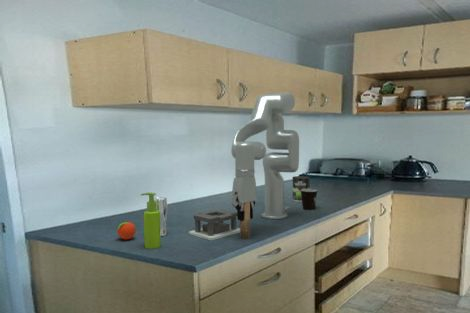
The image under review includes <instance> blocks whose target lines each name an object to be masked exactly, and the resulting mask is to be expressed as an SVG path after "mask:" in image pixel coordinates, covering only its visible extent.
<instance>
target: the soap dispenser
mask: <svg viewBox="0 0 470 313" xmlns="http://www.w3.org/2000/svg"><path fill="white" fill-rule="evenodd" d="M140 196H148V201H147V202H146V210H144V211H143V232H144V234H143V236H144V237H143V238H144V242H143V243H144V248H145V249H148V250H152V249H158V248H161V244H162V242H161V237H160V211H158V210H156V202H155V201H154V198H155V196H157V193H155V192H144V193H141V194H140Z"/></svg>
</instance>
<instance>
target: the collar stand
mask: <svg viewBox="0 0 470 313" xmlns="http://www.w3.org/2000/svg"><path fill="white" fill-rule="evenodd" d="M193 220H194V230H190V231H188V235H191V236H195V237H198V238H201V239H205V240H209V241H215V240H218V239H223V238H226V237H229V236H233V235H236V234H239V233H240V227H237V212H236V211H231V210H226V209H222V208H220V209H216V210H207V211H201V212H199V214H193ZM229 220H230V224H229V223H224V222H225V221H229ZM201 222H204V223H203V224H202V227H201ZM205 222H206V223H205Z"/></svg>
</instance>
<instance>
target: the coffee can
mask: <svg viewBox="0 0 470 313" xmlns="http://www.w3.org/2000/svg"><path fill="white" fill-rule="evenodd" d="M310 179H311V177H310V176H304V175H297V176H295V175H294V176H292V199H291V200H292V201H294V202H298V203H299V202H300V203H302V196H301V190H303V189H311V188H310Z"/></svg>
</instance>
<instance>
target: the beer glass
mask: <svg viewBox="0 0 470 313" xmlns="http://www.w3.org/2000/svg"><path fill="white" fill-rule="evenodd" d="M154 201H155V202H156V210H158V211H160V237H165V236H167V235H168V233H167V227H166V226H167V225H166V224H167V217H168V201H167V197H154Z"/></svg>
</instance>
